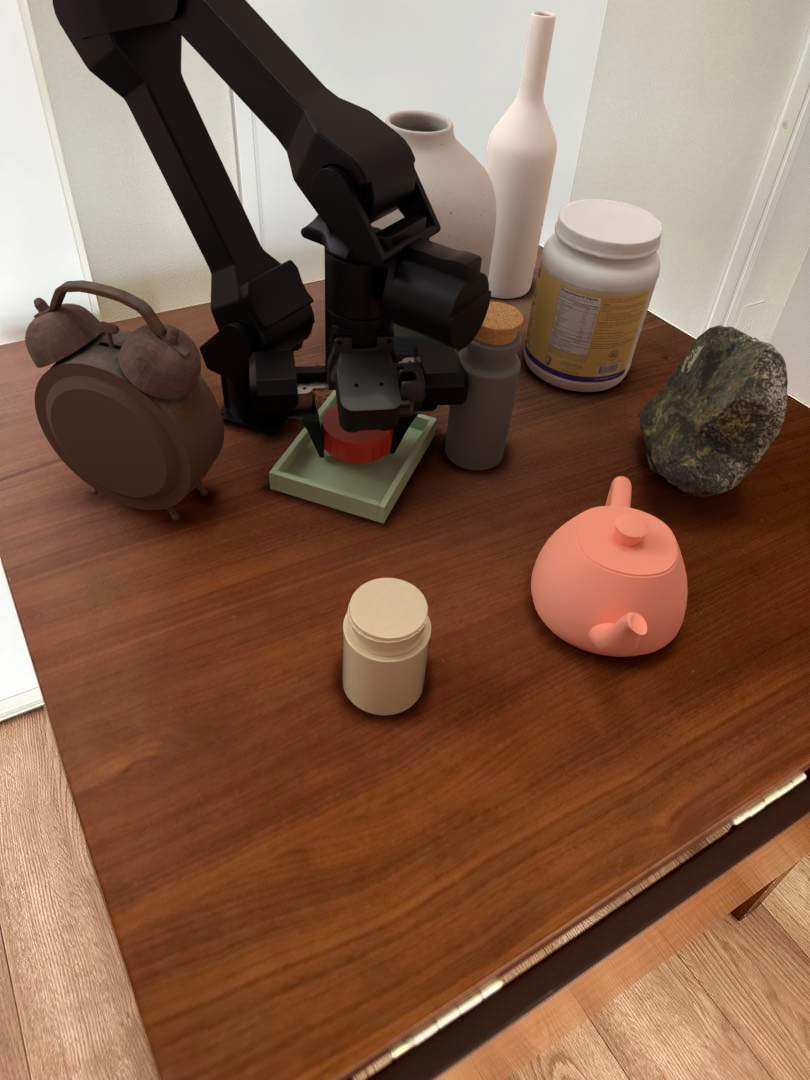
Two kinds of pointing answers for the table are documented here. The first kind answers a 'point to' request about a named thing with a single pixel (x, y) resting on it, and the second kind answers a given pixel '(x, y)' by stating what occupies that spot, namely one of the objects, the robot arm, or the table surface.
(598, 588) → the teapot
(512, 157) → the bottle
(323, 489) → the tray
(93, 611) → the table surface
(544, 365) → the supplement tub
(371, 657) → the jar
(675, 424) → the stone
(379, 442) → the jar lid
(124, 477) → the alarm clock
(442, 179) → the vase
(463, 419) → the bottle
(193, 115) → the robot arm
